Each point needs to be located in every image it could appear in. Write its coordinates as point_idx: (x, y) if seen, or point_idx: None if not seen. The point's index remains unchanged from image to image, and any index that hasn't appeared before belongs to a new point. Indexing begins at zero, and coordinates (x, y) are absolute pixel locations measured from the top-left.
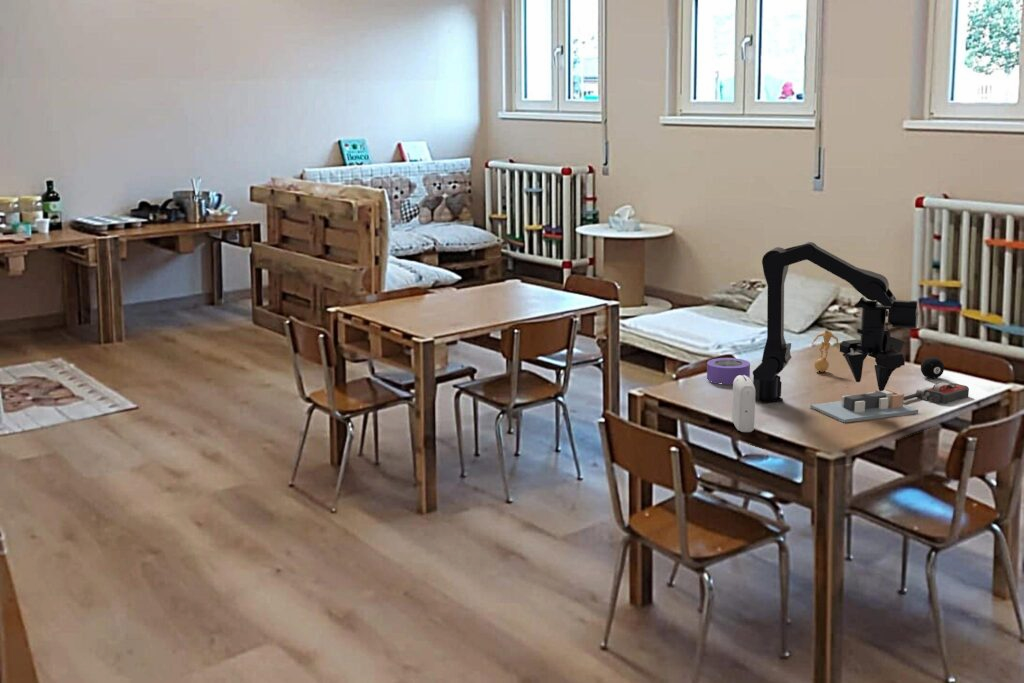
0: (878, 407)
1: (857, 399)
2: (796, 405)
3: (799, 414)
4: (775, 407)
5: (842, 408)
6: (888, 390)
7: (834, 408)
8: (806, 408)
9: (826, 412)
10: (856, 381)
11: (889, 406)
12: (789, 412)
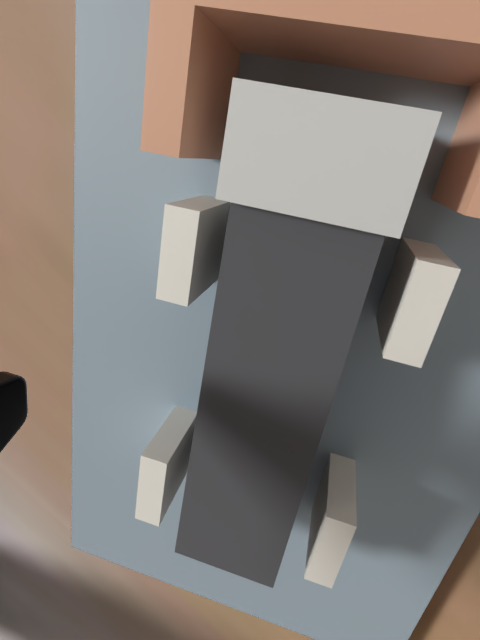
0: None
1: (285, 541)
2: (22, 534)
3: (148, 635)
4: (19, 606)
5: None
6: (267, 17)
7: None
8: None
9: (220, 600)
10: (17, 425)
11: None
12: (103, 632)
